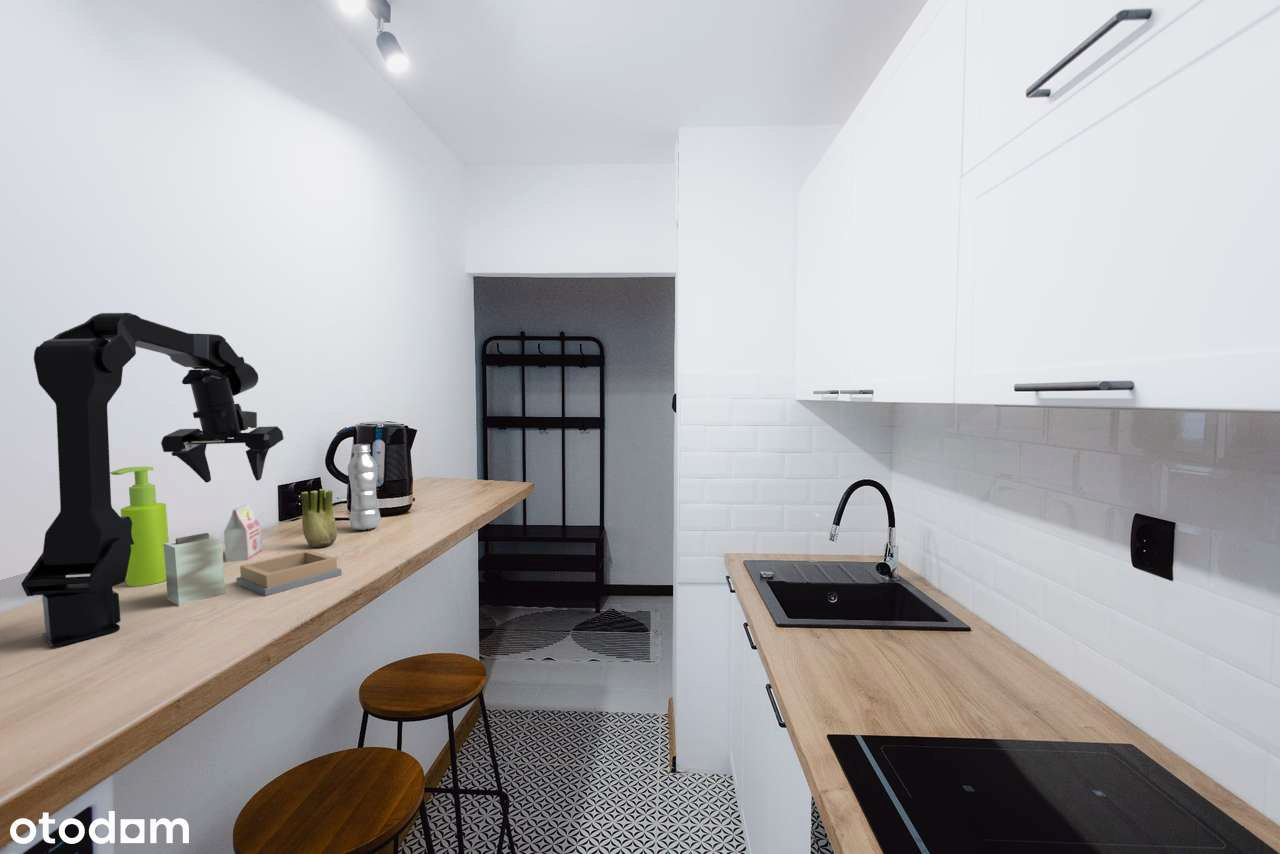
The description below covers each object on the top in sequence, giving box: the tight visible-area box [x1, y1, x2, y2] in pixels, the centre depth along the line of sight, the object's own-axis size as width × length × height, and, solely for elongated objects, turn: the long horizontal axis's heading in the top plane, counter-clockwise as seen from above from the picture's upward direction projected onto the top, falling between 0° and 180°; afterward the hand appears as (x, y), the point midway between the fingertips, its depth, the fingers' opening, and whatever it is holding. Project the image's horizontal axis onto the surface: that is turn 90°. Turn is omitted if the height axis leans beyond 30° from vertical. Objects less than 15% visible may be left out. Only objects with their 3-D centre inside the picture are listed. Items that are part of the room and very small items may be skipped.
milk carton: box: [223, 503, 263, 563], centre depth 112 cm, size 4×7×10 cm, turn 14°
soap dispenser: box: [110, 466, 170, 587], centre depth 97 cm, size 6×7×20 cm
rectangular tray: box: [235, 549, 342, 597], centre depth 97 cm, size 12×11×3 cm
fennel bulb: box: [300, 488, 338, 548], centre depth 119 cm, size 6×5×12 cm
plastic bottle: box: [347, 443, 381, 531], centre depth 133 cm, size 6×7×20 cm
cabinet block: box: [164, 532, 226, 607], centre depth 90 cm, size 6×5×10 cm
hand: (233, 480), depth 110 cm, fingers open, 9 cm apart
